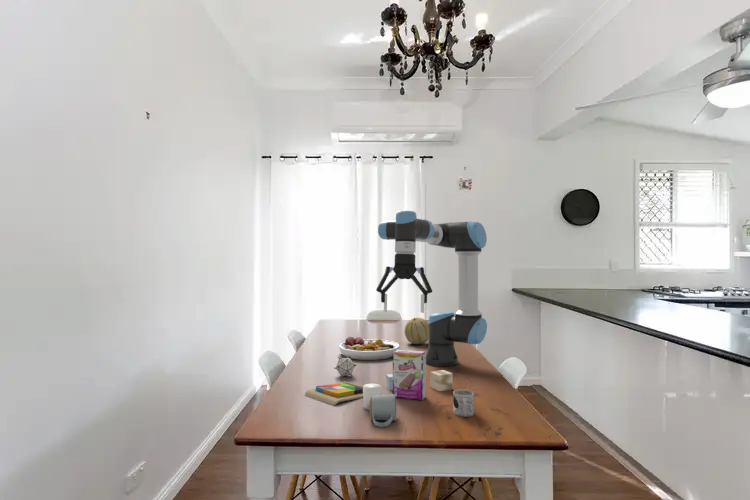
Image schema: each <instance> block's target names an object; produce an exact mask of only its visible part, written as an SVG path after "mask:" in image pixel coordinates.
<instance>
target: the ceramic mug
mask: <svg viewBox="0 0 750 500" xmlns="http://www.w3.org/2000/svg"><path fill="white" fill-rule="evenodd" d="M396 399H397V398H396V396H395V394H393V393H392V394H381V395H378V396H372V397H371V398H370V410H369V417H370V419H371V420H372V422H373V424H374V426H376V427H380V428H385V427H388V426H389V425H390V424H391V423H392V422H393V421H394V422H395V421H397V400H396ZM379 421H385V422H379Z"/></svg>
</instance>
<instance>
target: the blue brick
mask: <svg viewBox="0 0 750 500" xmlns="http://www.w3.org/2000/svg"><path fill="white" fill-rule="evenodd" d="M385 376H386V381H385V383H386V388H387V390H388V391H393V373H390V374H388V373H387V374H386V375H385Z"/></svg>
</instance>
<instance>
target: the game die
mask: <svg viewBox="0 0 750 500" xmlns="http://www.w3.org/2000/svg"><path fill="white" fill-rule="evenodd" d="M356 366H357V364H354V362H353V360H352V359H351V358H350V356H349V358H348V357H343V358H342V357H341V358H340V357H339V356H338V361H337V363H336V367H334V368H333V369H335V370H336V371H337V372H338V373H339V375H340V376H339V378H340V379H341V378H342V377H343V376H345V377H346V376H351V377H353V371H354V368H355V367H356Z"/></svg>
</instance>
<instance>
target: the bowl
mask: <svg viewBox="0 0 750 500" xmlns="http://www.w3.org/2000/svg"><path fill="white" fill-rule="evenodd" d="M397 349H398V350H400V344H399V343H398V342H395V341H392V340H388V339H387V340H386V339H381V338H378V339H375V338H373V339H372V338H367V339H363V338H362V337H361V336H358V337H356V338H355V337H353V336H348V337H346V339H345V341H344V342H342V343H340V344H339V351H340V353H341V355H342V356H344V357H345V358H349V356H350V359H351V360H352V359H353V360H359V361H360V360H361V361H379V360H386V359H390V358H393V352H394V351H395V350H397Z"/></svg>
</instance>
